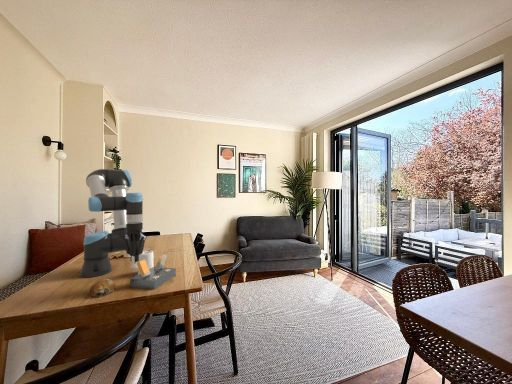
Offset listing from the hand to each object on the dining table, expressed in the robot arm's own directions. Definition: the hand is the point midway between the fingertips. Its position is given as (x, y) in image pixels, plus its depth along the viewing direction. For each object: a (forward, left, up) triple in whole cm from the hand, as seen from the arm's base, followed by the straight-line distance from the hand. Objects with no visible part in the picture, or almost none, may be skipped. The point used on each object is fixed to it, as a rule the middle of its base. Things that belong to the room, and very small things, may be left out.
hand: (134, 267), depth 116 cm
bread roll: (-7, -12, -8) cm, 17 cm away
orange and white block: (+7, 0, -3) cm, 7 cm away
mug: (-6, +13, -8) cm, 17 cm away
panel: (+8, +5, -8) cm, 12 cm away
